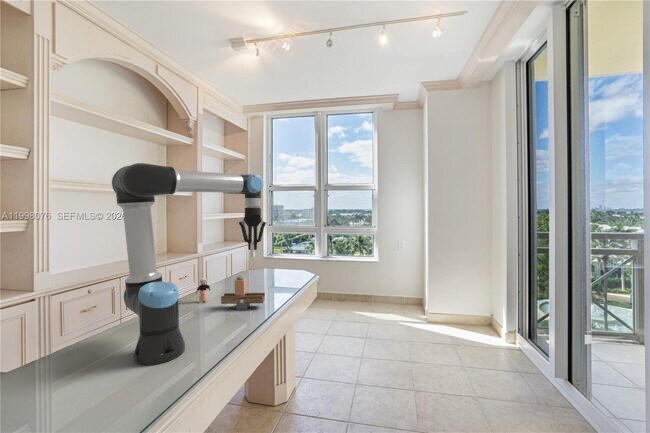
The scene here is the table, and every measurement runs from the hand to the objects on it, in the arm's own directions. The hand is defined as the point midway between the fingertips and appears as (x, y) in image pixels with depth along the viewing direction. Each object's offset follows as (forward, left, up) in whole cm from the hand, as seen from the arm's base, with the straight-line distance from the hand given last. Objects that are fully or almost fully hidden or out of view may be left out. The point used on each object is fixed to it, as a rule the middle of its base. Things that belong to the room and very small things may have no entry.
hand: (252, 256), depth 145 cm
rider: (+4, +7, -21) cm, 22 cm away
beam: (+4, +6, -26) cm, 27 cm away
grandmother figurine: (+14, +29, -26) cm, 41 cm away
